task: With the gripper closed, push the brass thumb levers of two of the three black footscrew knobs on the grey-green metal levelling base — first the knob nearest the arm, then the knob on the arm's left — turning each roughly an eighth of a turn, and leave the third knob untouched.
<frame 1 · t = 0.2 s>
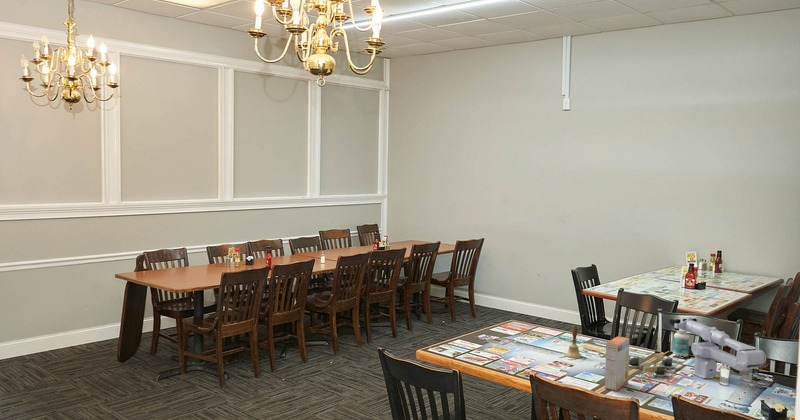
hand: (676, 320, 320), 21 cm above the table, tool horizontal, fingers open, 7 cm apart
pill bottle: (680, 355, 335), on the table
levelling base: (653, 369, 310), on the table
knob far: (627, 359, 315), point 3 cm above the table, hinge at 0.0°
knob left: (654, 369, 300), point 3 cm above the table, hinge at 0.0°
cracker box: (616, 386, 285), on the table
knob near: (663, 358, 317), point 3 cm above the table, hinge at 0.0°
hand bell: (573, 356, 330), on the table
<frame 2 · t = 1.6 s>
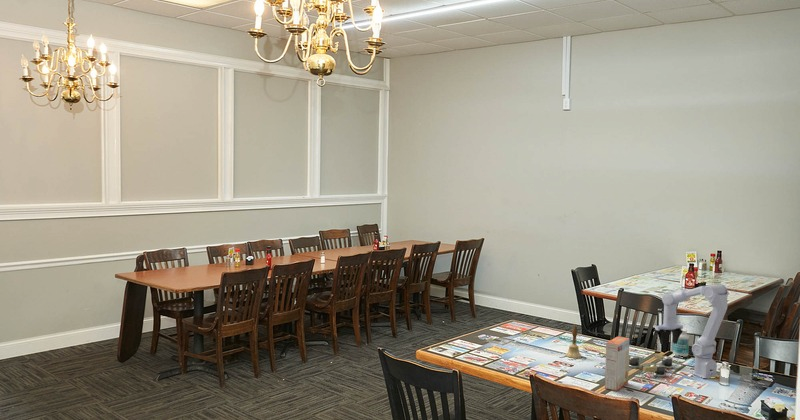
hand: (668, 343, 320), 10 cm above the table, tool pointing down, fingers open, 7 cm apart
nothing on the table moved.
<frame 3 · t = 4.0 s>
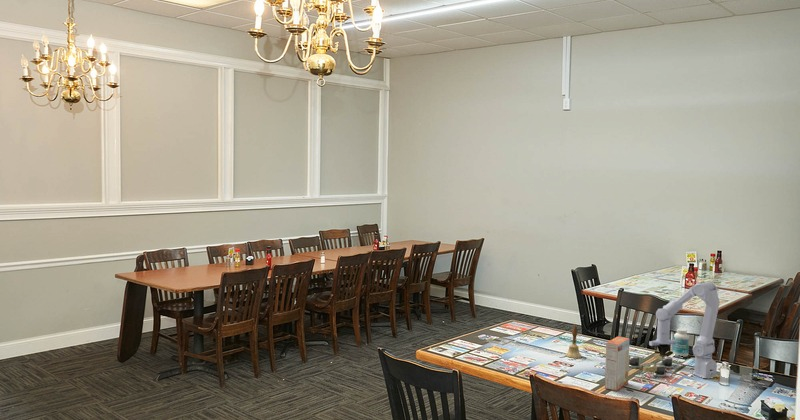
hand: (662, 359, 319), 2 cm above the table, tool pointing down, fingers closed, pressing on knob near
knob near: (663, 358, 317), point 3 cm above the table, hinge at 0.7°, touching gripper
everything else where it was.
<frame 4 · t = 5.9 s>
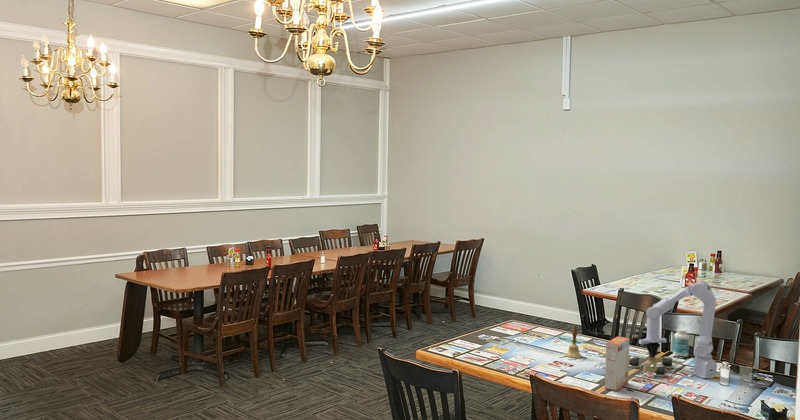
hand: (652, 357, 318), 3 cm above the table, tool pointing down, fingers closed
knob near: (660, 360, 314), point 3 cm above the table, hinge at 63.8°
everything else where it was.
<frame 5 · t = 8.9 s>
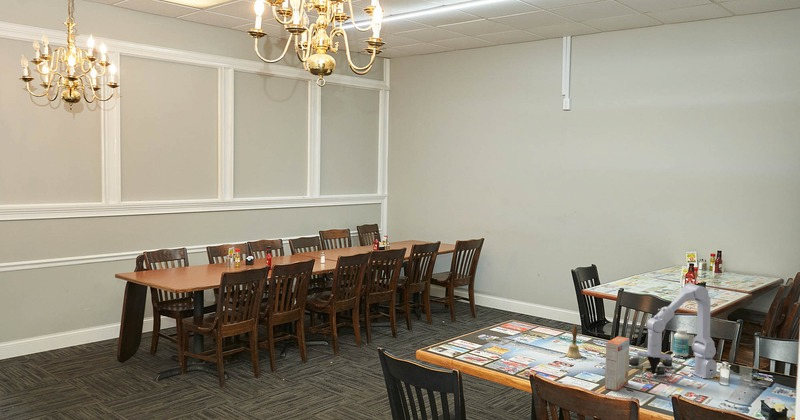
hand: (653, 373, 297), 2 cm above the table, tool pointing down, fingers closed
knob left: (654, 369, 300), point 3 cm above the table, hinge at -0.1°, touching gripper
everything else where it was.
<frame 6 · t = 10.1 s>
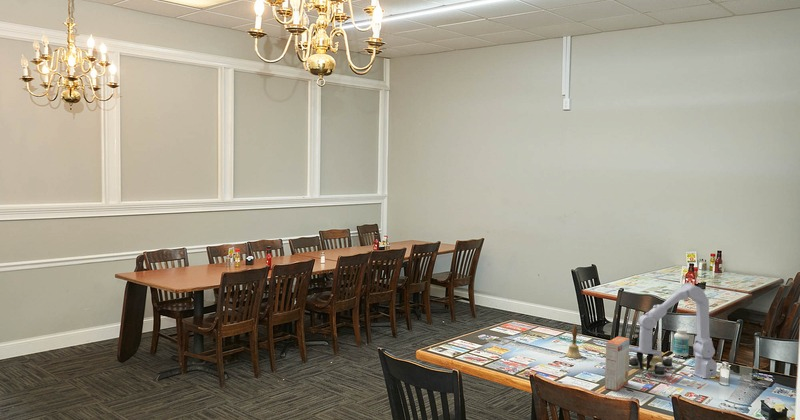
hand: (644, 369, 303), 2 cm above the table, tool pointing down, fingers closed
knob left: (653, 367, 303), point 3 cm above the table, hinge at -56.6°, touching gripper
everything else where it was.
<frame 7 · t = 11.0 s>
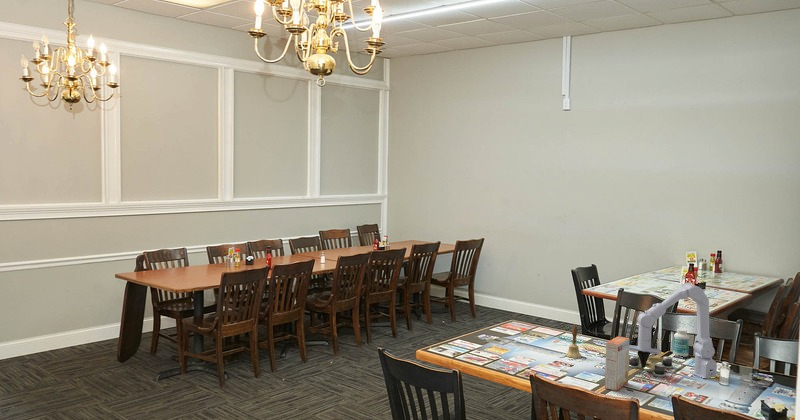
hand: (643, 367, 304), 3 cm above the table, tool pointing down, fingers closed
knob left: (653, 367, 303), point 3 cm above the table, hinge at -64.9°
everything else where it was.
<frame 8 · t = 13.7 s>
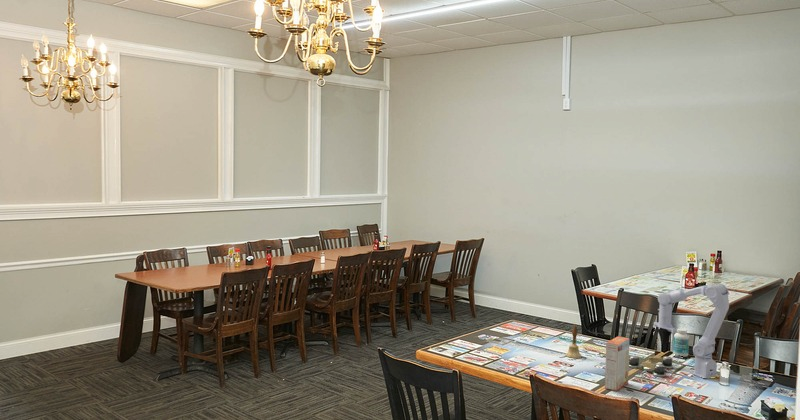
hand: (663, 343, 318), 10 cm above the table, tool pointing down, fingers closed
nothing on the table moved.
at the end: knob near at +64° (first picture: +0°); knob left at -65° (first picture: +0°); knob far at +0° (first picture: +0°) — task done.
